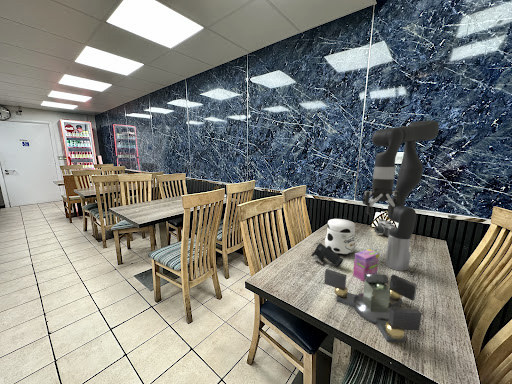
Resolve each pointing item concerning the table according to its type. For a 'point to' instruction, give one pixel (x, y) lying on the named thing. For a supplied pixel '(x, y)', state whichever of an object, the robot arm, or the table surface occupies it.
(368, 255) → the box
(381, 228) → the camera
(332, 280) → the grey upright plank
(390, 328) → the knob
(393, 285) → the knob
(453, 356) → the table surface
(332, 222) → the milk container
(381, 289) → the tribrach
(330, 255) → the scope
